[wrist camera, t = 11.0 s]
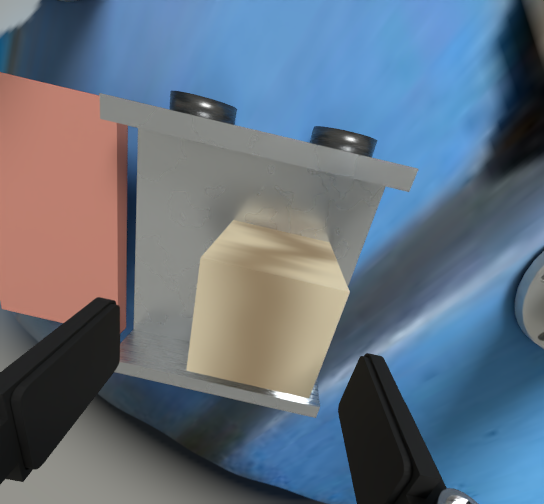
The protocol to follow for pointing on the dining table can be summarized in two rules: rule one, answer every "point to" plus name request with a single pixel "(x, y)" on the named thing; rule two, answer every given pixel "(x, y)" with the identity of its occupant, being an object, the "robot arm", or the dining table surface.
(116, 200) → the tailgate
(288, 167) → the cart
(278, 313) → the box
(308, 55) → the dining table surface
